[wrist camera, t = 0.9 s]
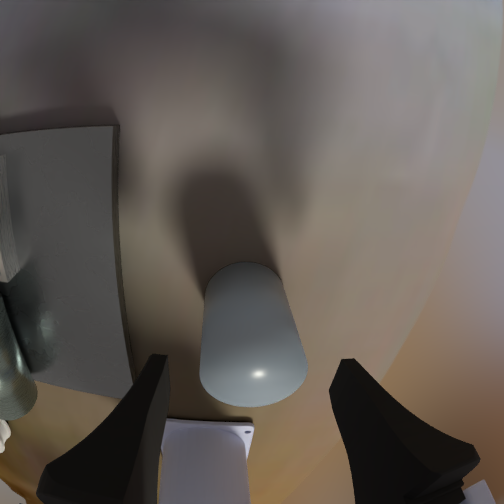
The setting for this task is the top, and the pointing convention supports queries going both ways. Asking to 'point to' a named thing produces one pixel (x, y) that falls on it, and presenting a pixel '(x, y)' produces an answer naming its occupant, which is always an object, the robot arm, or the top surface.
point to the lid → (4, 434)
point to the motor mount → (61, 266)
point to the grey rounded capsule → (249, 338)
